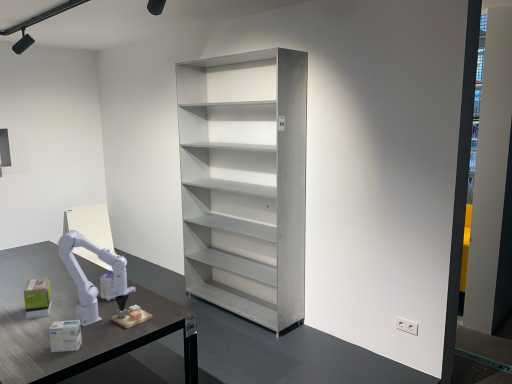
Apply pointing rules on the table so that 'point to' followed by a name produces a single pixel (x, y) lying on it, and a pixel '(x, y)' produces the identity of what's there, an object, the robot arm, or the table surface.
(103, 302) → the table surface
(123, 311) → the tile three
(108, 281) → the ink cartridge box
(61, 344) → the light bulb box
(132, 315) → the tile one
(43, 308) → the tea box
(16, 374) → the table surface
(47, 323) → the table surface
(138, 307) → the tile two
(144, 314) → the button board
